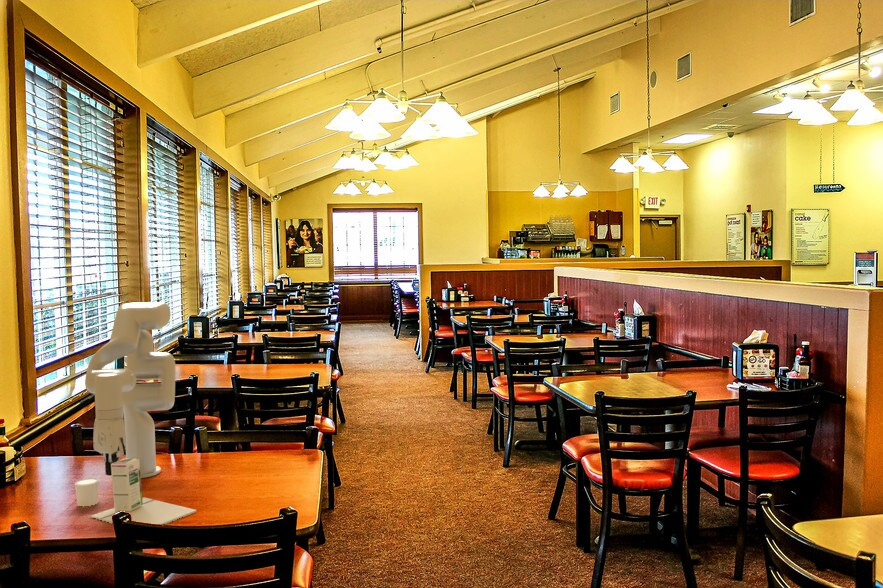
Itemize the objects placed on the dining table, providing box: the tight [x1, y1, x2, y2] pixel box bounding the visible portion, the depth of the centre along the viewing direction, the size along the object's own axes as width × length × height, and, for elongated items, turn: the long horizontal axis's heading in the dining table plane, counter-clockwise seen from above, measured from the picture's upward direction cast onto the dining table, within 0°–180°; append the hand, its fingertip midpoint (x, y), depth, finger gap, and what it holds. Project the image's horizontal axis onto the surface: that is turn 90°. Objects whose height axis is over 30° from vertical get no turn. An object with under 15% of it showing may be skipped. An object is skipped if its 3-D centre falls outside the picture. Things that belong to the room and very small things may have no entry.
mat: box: [90, 496, 197, 525], centre depth 210 cm, size 24×18×1 cm
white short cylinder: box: [74, 478, 100, 508], centre depth 220 cm, size 7×7×7 cm
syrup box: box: [111, 457, 143, 512], centre depth 214 cm, size 6×6×14 cm
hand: (112, 473), depth 217 cm, fingers closed
